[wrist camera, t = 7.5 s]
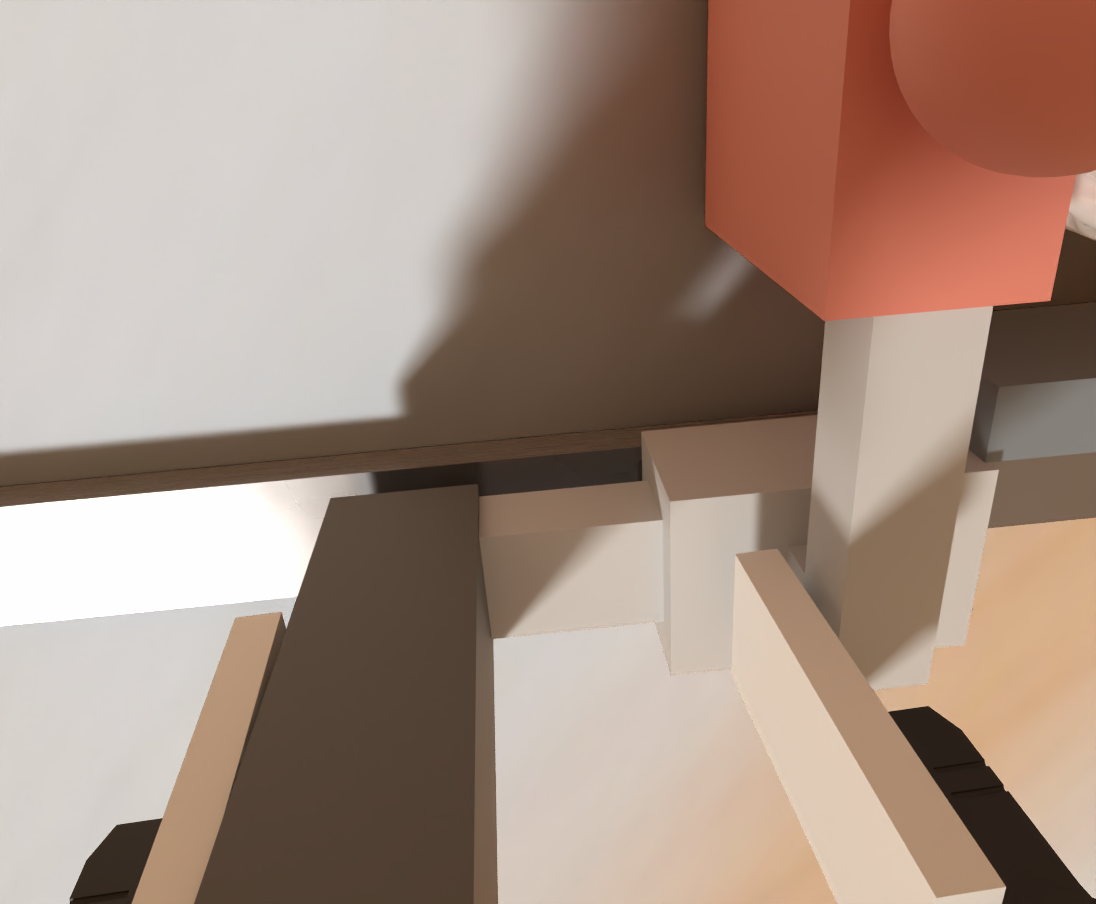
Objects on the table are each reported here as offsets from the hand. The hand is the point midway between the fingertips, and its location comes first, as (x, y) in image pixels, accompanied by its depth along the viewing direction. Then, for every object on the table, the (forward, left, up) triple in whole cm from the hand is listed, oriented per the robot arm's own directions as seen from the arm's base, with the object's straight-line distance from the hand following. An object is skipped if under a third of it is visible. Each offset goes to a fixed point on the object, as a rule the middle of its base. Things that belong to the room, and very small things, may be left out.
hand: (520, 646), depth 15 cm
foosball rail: (+1, 0, -5) cm, 5 cm away
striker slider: (+3, +6, -5) cm, 8 cm away
